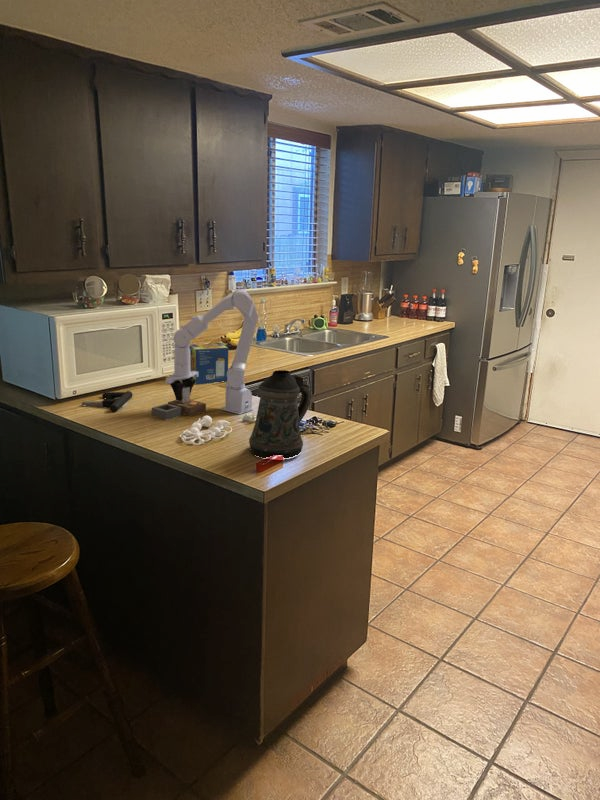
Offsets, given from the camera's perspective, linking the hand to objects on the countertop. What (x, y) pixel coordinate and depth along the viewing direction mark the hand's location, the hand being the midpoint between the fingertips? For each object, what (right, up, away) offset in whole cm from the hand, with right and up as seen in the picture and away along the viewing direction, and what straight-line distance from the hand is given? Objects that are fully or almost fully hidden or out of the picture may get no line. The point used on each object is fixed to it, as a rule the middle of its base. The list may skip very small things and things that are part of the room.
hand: (182, 399), depth 221 cm
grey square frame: (-4, -6, -7) cm, 10 cm away
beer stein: (+36, -16, -34) cm, 52 cm away
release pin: (+4, -4, -2) cm, 6 cm away
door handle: (-29, -2, +4) cm, 29 cm away
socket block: (+1, -4, 0) cm, 5 cm away
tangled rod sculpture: (+13, -12, -24) cm, 30 cm away
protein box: (+2, +8, +44) cm, 45 cm away
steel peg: (0, -3, +1) cm, 3 cm away
